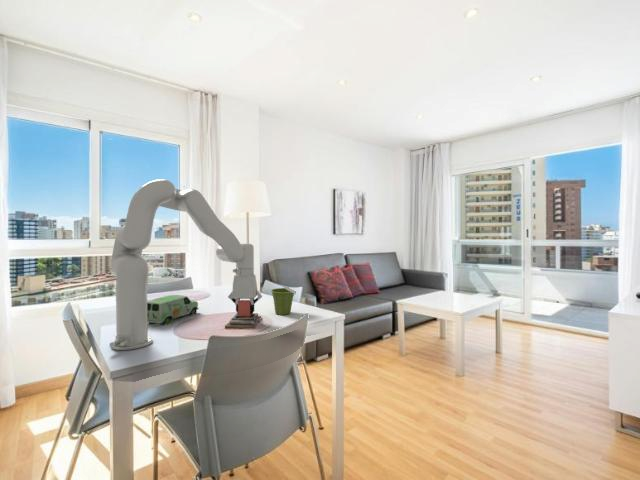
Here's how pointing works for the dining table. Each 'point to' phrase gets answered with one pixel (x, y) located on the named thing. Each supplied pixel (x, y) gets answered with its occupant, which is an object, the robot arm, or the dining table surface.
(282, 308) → the plant pot
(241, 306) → the red block
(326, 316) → the dining table surface
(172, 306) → the toy car
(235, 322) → the board
